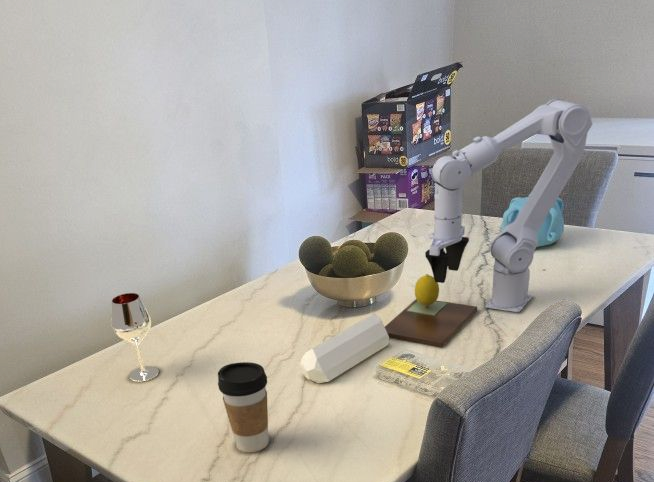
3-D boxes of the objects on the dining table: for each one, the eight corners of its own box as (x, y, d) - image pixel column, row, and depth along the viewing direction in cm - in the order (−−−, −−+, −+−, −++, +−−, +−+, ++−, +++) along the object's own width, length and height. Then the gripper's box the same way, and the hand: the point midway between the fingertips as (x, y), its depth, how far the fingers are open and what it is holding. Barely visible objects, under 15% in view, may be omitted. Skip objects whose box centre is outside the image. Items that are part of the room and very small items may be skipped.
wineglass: (169, 366, 153) (152, 291, 143) (152, 385, 147) (133, 307, 137) (137, 364, 156) (118, 290, 146) (119, 382, 149) (98, 306, 140)
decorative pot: (554, 255, 183) (559, 204, 176) (493, 250, 191) (496, 201, 184) (567, 235, 195) (573, 186, 187) (509, 231, 202) (513, 184, 195)
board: (417, 302, 168) (417, 296, 167) (477, 311, 160) (477, 305, 159) (379, 336, 154) (379, 330, 154) (442, 347, 146) (442, 341, 146)
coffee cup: (228, 433, 127) (215, 362, 119) (273, 427, 128) (263, 355, 119) (229, 459, 120) (216, 385, 112) (277, 453, 120) (267, 378, 112)
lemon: (438, 311, 159) (439, 278, 154) (414, 311, 160) (414, 279, 156) (438, 301, 163) (439, 269, 159) (415, 302, 164) (415, 270, 160)
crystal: (361, 317, 154) (286, 359, 141) (383, 308, 148) (307, 351, 135) (375, 347, 155) (302, 391, 142) (397, 339, 150) (323, 385, 136)
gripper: (444, 205, 155) (443, 262, 162) (416, 224, 145) (416, 285, 153) (474, 207, 151) (471, 266, 158) (447, 227, 142) (446, 289, 149)
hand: (446, 275), depth 155 cm, fingers open, 7 cm apart
